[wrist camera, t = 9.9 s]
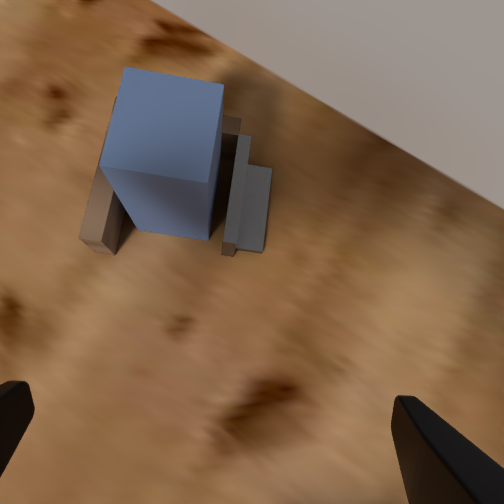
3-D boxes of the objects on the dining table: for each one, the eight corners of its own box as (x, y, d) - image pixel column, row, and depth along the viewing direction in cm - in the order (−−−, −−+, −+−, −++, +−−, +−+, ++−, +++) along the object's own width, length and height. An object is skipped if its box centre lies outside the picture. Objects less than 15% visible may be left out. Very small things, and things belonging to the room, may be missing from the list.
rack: (218, 269, 23) (220, 258, 20) (95, 252, 22) (78, 238, 19) (237, 144, 25) (241, 118, 22) (126, 125, 25) (115, 96, 22)
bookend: (260, 260, 23) (268, 248, 20) (221, 254, 23) (222, 241, 20) (272, 164, 25) (280, 141, 22) (235, 158, 25) (238, 133, 22)
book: (208, 240, 23) (207, 182, 15) (138, 230, 23) (99, 165, 15) (219, 170, 25) (224, 83, 17) (153, 160, 24) (125, 65, 16)
